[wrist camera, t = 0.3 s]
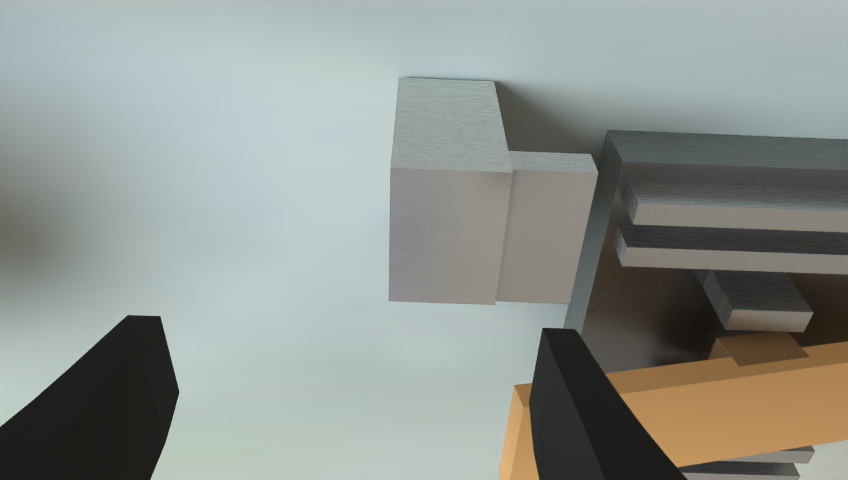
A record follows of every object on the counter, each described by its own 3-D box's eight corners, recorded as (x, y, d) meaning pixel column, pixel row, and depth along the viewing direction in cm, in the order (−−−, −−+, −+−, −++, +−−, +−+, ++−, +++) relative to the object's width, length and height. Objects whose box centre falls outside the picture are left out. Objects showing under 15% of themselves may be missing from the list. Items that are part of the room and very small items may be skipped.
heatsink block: (762, 431, 29) (804, 515, 26) (542, 424, 29) (557, 508, 26) (912, 142, 21) (1001, 212, 18) (607, 130, 21) (640, 198, 17)
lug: (542, 199, 22) (570, 307, 18) (396, 193, 22) (389, 301, 18) (561, 84, 20) (599, 175, 15) (399, 77, 20) (390, 167, 15)
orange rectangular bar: (907, 389, 25) (943, 423, 23) (491, 451, 22) (506, 495, 20) (963, 307, 22) (1006, 340, 21) (505, 364, 19) (523, 407, 18)
